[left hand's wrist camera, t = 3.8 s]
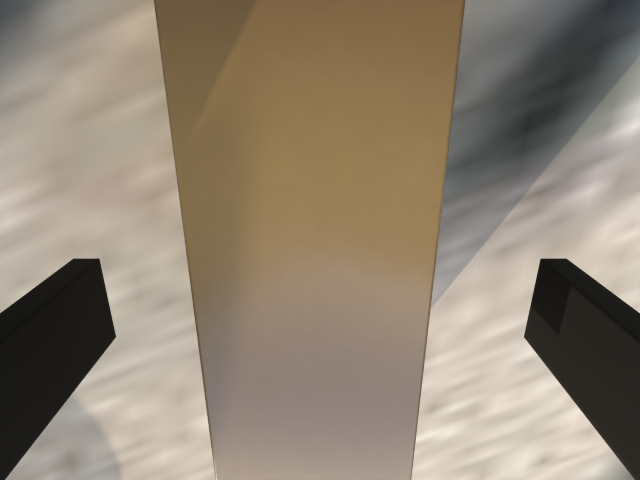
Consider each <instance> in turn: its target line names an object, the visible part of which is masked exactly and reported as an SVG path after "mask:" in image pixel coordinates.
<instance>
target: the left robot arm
mask: <svg viewBox="0 0 640 480" xmlns="http://www.w3.org/2000/svg"><path fill="white" fill-rule="evenodd" d="M115 338H116V335H115V330H114V325H113V321H112V316H111V311H110V307H109V302H108V297H107V292H106V288H105V283H104V278H103V274H102V269H101V264H100V260H99V259H73V260H71V261H70V262H68V263H67V264H66V265H64V266H63V267H62V268H60V269H59V270H58V271H56V272H55V273H54V274H52V275H51V276H50V277H48V278H47V279H46V280H44V281H43V282H42V283H40V284H39V285H38V286H36V287H35V288H34V289H32V290H31V291H30V292H28V293H27V294H26V295H24V296H23V297H22V298H20V299H19V300H18V301H16V302H15V303H14V304H12V305H11V306H10V307H8V308H7V309H6V310H4V311H3V312H1V313H0V480H5V479H6V478H7V476H8V475H9V474H10V473H11V471H12V470H13V469H14V467H15V466H16V465H17V464H18V462H19V461H20V460H21V458H22V457H23V456H24V455H25V453H26V452H27V451H28V449H29V448H30V447H31V446H32V444H33V443H34V442H35V440H36V439H37V438H38V437H39V435H40V434H41V433H42V431H43V430H44V429H45V428H46V426H47V425H48V424H49V422H50V421H51V420H52V419H53V417H54V416H55V415H56V413H57V412H58V411H59V410H60V408H61V407H62V406H63V404H64V403H65V402H66V401H67V399H68V398H69V397H70V395H71V394H72V393H73V392H74V390H75V389H76V388H77V386H78V385H79V384H80V383H81V381H82V380H83V379H84V377H85V376H86V375H87V374H88V372H89V371H90V370H91V368H92V367H93V366H94V365H95V363H96V362H97V361H98V359H99V358H100V357H101V356H102V354H103V353H104V352H105V350H106V349H107V348H108V347H109V345H110V344H111V343H112V341H113V340H114V339H115ZM524 338H525V339H526V340H527V341H528V343H529V344H530V345H531V347H532V348H533V349H534V350H535V352H536V353H537V354H538V356H539V357H540V358H541V359H542V361H543V362H544V363H545V365H546V366H547V367H548V368H549V370H550V371H551V372H552V374H553V375H554V376H555V377H556V379H557V380H558V381H559V383H560V384H561V385H562V386H563V388H564V389H565V390H566V392H567V393H568V394H569V395H570V397H571V398H572V399H573V401H574V402H575V403H576V404H577V406H578V407H579V408H580V410H581V411H582V412H583V413H584V415H585V416H586V417H587V419H588V420H589V421H590V422H591V424H592V425H593V426H594V428H595V429H596V430H597V431H598V433H599V434H600V435H601V437H602V438H603V439H604V440H605V442H606V443H607V444H608V446H609V447H610V448H611V449H612V451H613V452H614V453H615V455H616V456H617V457H618V458H619V460H620V461H621V462H622V464H623V465H624V466H625V467H626V469H627V470H628V471H629V473H630V474H631V475H632V476H633V478H634V479H635V480H640V313H639V312H637V311H636V310H634V309H633V308H632V307H630V306H629V305H628V304H626V303H625V302H624V301H622V300H621V299H620V298H618V297H617V296H616V295H614V294H613V293H612V292H610V291H609V290H608V289H606V288H605V287H604V286H602V285H601V284H600V283H598V282H597V281H596V280H594V279H593V278H592V277H590V276H589V275H588V274H586V273H585V272H584V271H582V270H581V269H580V268H578V267H577V266H576V265H574V264H573V263H572V262H570V261H569V260H567V259H541V260H540V264H539V269H538V274H537V278H536V283H535V288H534V292H533V297H532V302H531V307H530V311H529V316H528V321H527V325H526V330H525V335H524Z"/></svg>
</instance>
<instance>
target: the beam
mask: <svg viewBox="0 0 640 480" xmlns="http://www.w3.org/2000/svg"><path fill="white" fill-rule="evenodd" d="M154 5H155V12H156V20H157V28H158V36H159V43H160V51H161V59H162V67H163V75H164V82H165V90H166V98H167V106H168V113H169V121H170V129H171V137H172V144H173V152H174V160H175V168H176V175H177V183H178V191H179V199H180V206H181V214H182V222H183V230H184V237H185V245H186V253H187V261H188V268H189V276H190V284H191V292H192V300H193V307H194V315H195V323H196V331H197V338H198V346H199V354H200V362H201V369H202V377H203V385H204V393H205V400H206V408H207V416H208V424H209V431H210V439H211V447H212V455H213V462H214V470H215V478H216V480H411V477H412V468H413V459H414V450H415V441H416V432H417V423H418V414H419V406H420V397H421V388H422V379H423V370H424V361H425V352H426V343H427V335H428V326H429V317H430V308H431V299H432V290H433V281H434V273H435V264H436V255H437V246H438V237H439V228H440V219H441V210H442V202H443V193H444V184H445V175H446V166H447V157H448V148H449V139H450V131H451V122H452V113H453V104H454V95H455V86H456V77H457V69H458V60H459V51H460V42H461V33H462V24H463V15H464V6H465V0H154Z"/></svg>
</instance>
